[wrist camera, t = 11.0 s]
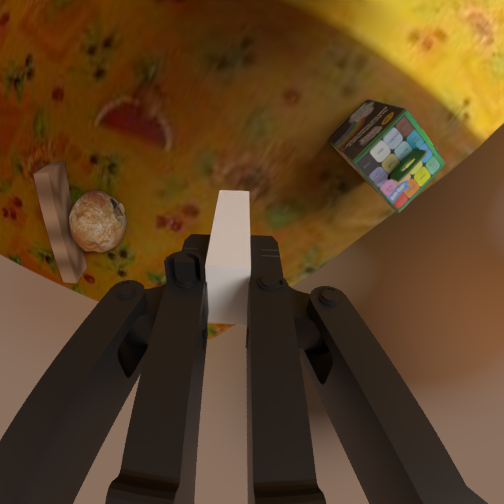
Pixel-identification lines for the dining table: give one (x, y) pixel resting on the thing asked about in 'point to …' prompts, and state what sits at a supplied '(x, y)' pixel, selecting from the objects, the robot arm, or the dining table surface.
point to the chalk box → (388, 151)
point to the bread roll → (97, 221)
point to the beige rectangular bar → (59, 220)
